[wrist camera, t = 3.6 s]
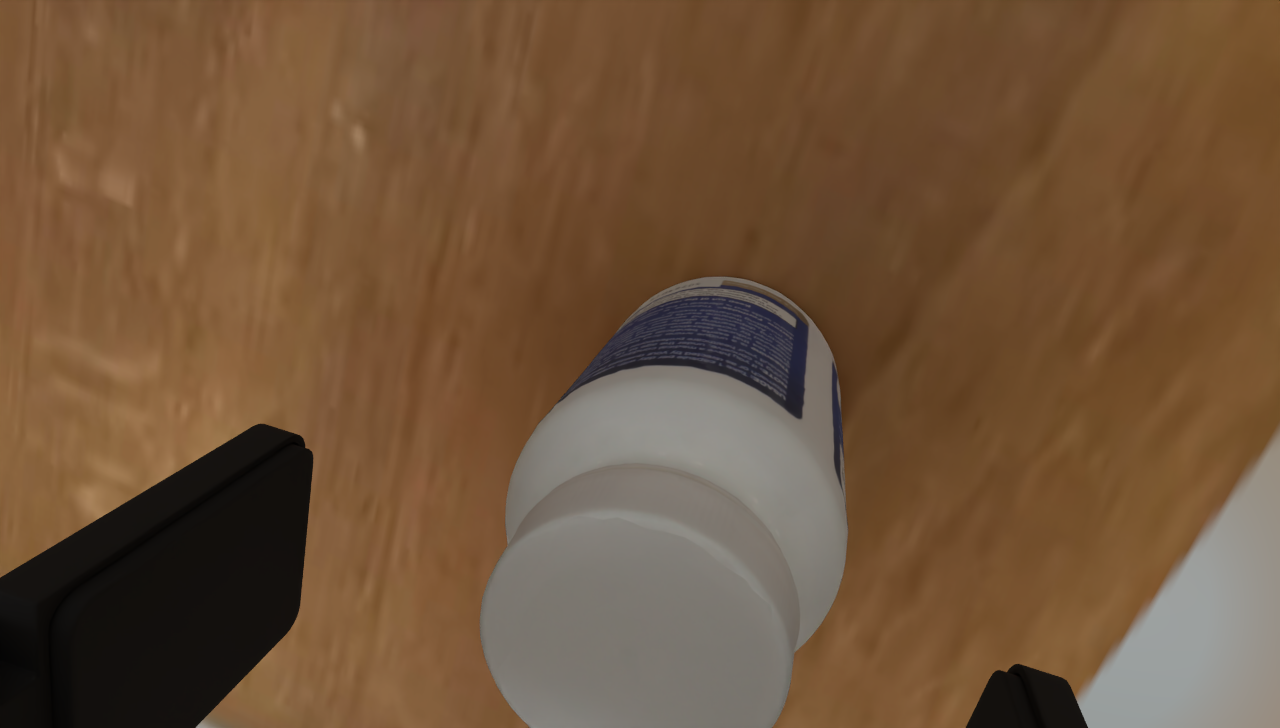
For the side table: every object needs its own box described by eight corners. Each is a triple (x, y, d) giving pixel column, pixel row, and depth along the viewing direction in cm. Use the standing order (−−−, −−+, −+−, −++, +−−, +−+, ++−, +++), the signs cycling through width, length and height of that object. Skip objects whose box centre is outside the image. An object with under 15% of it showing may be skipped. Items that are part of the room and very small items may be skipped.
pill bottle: (566, 354, 20) (344, 585, 11) (748, 223, 18) (668, 370, 9) (698, 524, 20) (595, 876, 11) (887, 417, 18) (945, 738, 9)
